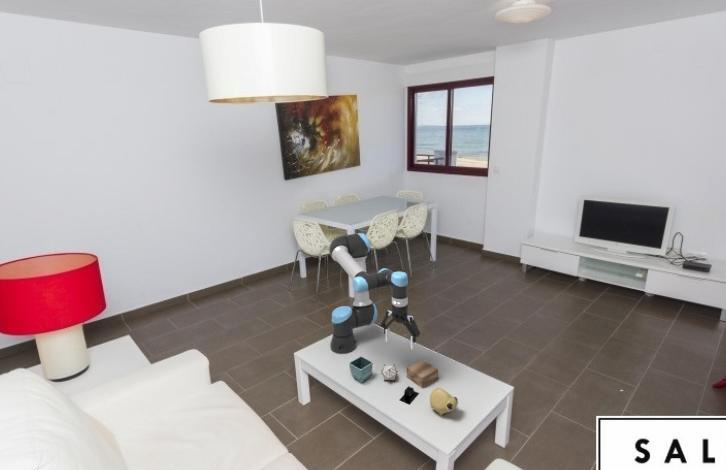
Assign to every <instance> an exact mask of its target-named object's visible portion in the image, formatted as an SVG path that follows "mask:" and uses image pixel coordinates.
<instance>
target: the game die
mask: <svg viewBox="0 0 726 470" xmlns="http://www.w3.org/2000/svg"><path fill="white" fill-rule="evenodd" d="M383 365H384V366H383V369H382V370H381V373H380V375H382V377H383V379H384V380H383V382H385V381H393V382H396V380H395V379H396V376H397V375H399V374H398V372H399V371H398V370H396V368H395V365H396V364H393V365H390V364H385V363H384V364H383Z"/></svg>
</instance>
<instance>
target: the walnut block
mask: <svg viewBox="0 0 726 470" xmlns="http://www.w3.org/2000/svg"><path fill="white" fill-rule="evenodd" d="M406 378H407V379H408V380H410V381H411V382H413V383H414V384H415V385H416V386H418V387H419V388H420V389H424V388H426V387H428V386H430V385H431V384H433V383H434V382H436V381H438V380H439V369H438V368H437V367H435V366H433V365H432V364H430V363H429V362H427V361H425V359H420V360H418V361H417V362H415V363H412V364H411V365H408V366H407V367H406Z"/></svg>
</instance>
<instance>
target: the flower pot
mask: <svg viewBox="0 0 726 470" xmlns="http://www.w3.org/2000/svg"><path fill="white" fill-rule="evenodd" d="M348 364H349V370H350V371H349V372H350V374H351V376H353V378H354V379H356V380H357V381H359V382H360V383H363V382H364V381H366V380H368V379H369V378H370V376H371V374H372V371H373V365H374V361H372V360H369V359H368V358H366V357H364V356H362V355H361V356H359V357H357V358H355V359H353V360H351V361H350V362H348Z"/></svg>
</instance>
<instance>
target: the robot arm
mask: <svg viewBox="0 0 726 470" xmlns="http://www.w3.org/2000/svg"><path fill="white" fill-rule="evenodd" d="M328 248H329V249H328V251H329V255H330V257H331V259H332V260H333V261H335V262H337V263H338V264H339V265H340V266H341V268H342V269H343V270H344V271H345V272H346V274H347V275H348V276H349V277H350V278H351V280H352V282H351V283H352V284H351V285H352V289H353V297H354V301H353V303H352V307H350V306H348V305H341V306H338V307H336V308H334V309H333V310H332V312H331V328H332V337H331V341H330V346H329V347H330V350H331V351H332V352H334V353H336V354H343V355H344V354H348V353H351V352H353V351H355V350H356V348H357V340H356V338H355V335H354V333H353V332H354V329H358V328H362V327H365V326H370V325H372V324H374V323H376V321H377V319H378V309H377V306H376V304H375V303H374V302H373V300H371V299H370V292H369V291H373V290H378V289H383V288H388V289H390V290H391V309H388V310H386V312H385V315H384V318H382V319H383V320H382V321H381V323H380V325H379V326H380V328H383V334H384V335H385V342H389V341H390V327H389V326H391V324H392V323H393V322H396V323H399V324H402V325H404V326H405V327H406V329H407V330H408V332H409V333H410V335H411V336H410V349H411V350H413V349H414V348H415V343H416V342H417V338H418V337H419V336H420V335H421V331H420V328H419V327H418V325H417V322H416V321H415V316H414V315H413V314H412V315H409V314H408V313H409V311H408V307H409V305H408V304H409V303H408V301H409V300H408V299H409V298H408V295H409V294H408V293H409V286H408V285H409V279H408V278H409V277H408V274H407V273H406V272H404V271H393V270H391V269H389V268H385V267H384V268H381V269H380V270H379V271H378V272H375V273H371V274H368V273H367V266H366V265H367V264H366V259H367V258H368V253H369V252H370V251H371V243H370V239H369V237H367V235H366V234H365V233H362V232H359V233H351V234H345V235H339V236H337V237H335V238H334V239H333V240H332V241H331V242H330V245H329V247H328ZM390 316H391V317H392V318H391V319H390V321H388V319H389V318H390ZM387 321H388V322H387ZM386 323H387V324H386Z"/></svg>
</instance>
